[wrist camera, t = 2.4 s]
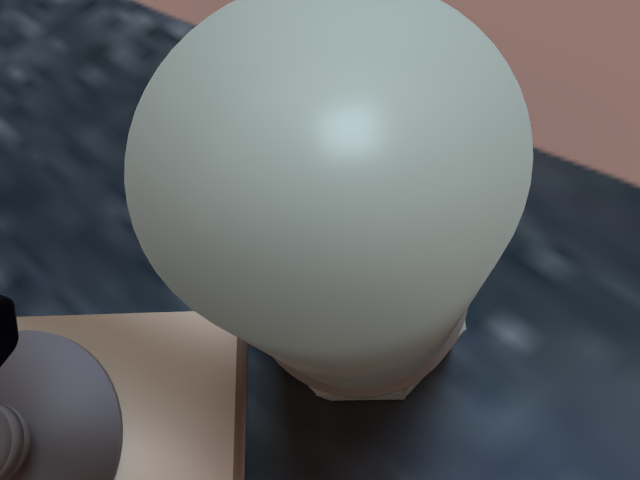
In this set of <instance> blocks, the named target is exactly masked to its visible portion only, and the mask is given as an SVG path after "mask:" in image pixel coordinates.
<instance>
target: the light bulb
mask: <svg viewBox="0 0 640 480" xmlns="http://www.w3.org/2000/svg"><path fill="white" fill-rule="evenodd" d="M532 165H533V143H532V130H531V125H530V120H529V115H528V110H527V106H526V103H525V100H524V98H523V95H522V92H521V89H520V87H519V84H518V82H517V80H516V78H515V77H514V75H513V73H512V71H511V69H510V67H509V65H508V64H507V62H506V60H505V59H504V58H503V56H502V55H501V53H500V52H499V51H498V49H497V48H496V47H495V45H494V44H493V43H492V42H491V41H490V40H489V38H487V36H486V35H485V34H484V33H483V32H482V31H481V30H480V29H479V28H478V27H477V26H476V25H475V24H473V23H472V22H471V21H470V20H468V19H467V18H466V17H465V16H463V15H462V14H461V13H460V12H458V11H457V10H455V9H454V8H452V7H451V6H449V5H447V4H446V3H444V2H442V1H441V0H235V1H233V2H231V3H229V4H227V5H226V6H224V7H223V8H221V9H219V10H218V11H216V12H215V13H213V14H212V15H210V16H209V17H207V18H206V19H205V20H204V21H202V22H201V23H200V24H199V25H197V26H196V27H195V28H194V29H192V30H191V31H190V32H189V33H188V34H187V35H186V36H185V37H184V38H183V39H182V40H181V41H180V42H179V43H178V44H177V45H176V46H175V47H174V48H173V49H172V50H171V51H170V53H169V54H168V55H167V57H166V58H165V59H164V60H163V62H162V63H161V64H160V66H159V67H158V68H157V70H156V71H155V73H154V75H153V77H152V78H151V80H150V82H149V83H148V85H147V87H146V88H145V90H144V92H143V95H142V97H141V99H140V101H139V104H138V106H137V108H136V110H135V114H134V117H133V120H132V124H131V127H130V131H129V134H128V141H127V147H126V153H125V174H124V182H125V190H126V199H127V206H128V210H129V213H130V217H131V221H132V225H133V228H134V231H135V233H136V235H137V238H138V240H139V243H140V245H141V247H142V250H143V252H144V253H145V255H146V256H147V258H148V260H149V261H150V263H151V265H152V266H153V268H154V270H155V271H156V273H157V274H158V275H159V276H160V278H161V279H162V280H163V281H164V282H165V284H166V285H167V286H168V287H169V288H170V290H171V291H172V292H173V293H174V294H175V295H176V296H178V297H179V298H180V299H181V300H182V301H183V302H184V303H185V304H186V305H187V306H189V307H190V308H191V309H192V310H193V311H195V312H196V313H198V314H199V315H201V316H202V317H204V318H205V319H207V320H208V321H210V322H211V323H213V324H214V325H216V326H218V327H220V328H222V329H223V330H225V331H227V332H229V333H231V334H232V335H234V336H236V337H238V338H240V339H241V340H243V341H245V342H247V343H249V344H250V345H252V346H254V347H256V348H258V349H260V350H261V351H263V352H265V353H267V354H269V355H270V356H272V357H273V358H274V359H275V361H276V362H277V363H278V364H279V365H280V366H281V367H282V368H284V369H285V370H286V371H287V372H288V373H289V374H290V375H292V376H293V377H295V378H296V379H298V380H299V381H301V382H303V383H305V384H307V385H308V386H309V387H310V388H311V389H312V390H313V391H314V392H315V393H316V396H319V397H322V398H324V399H327V400H330V401H338V400H405V398H406V396H407V395H408V394H409V393H410V392H411V391H412V390H413V389H414V388H415V386H416V385H417V384H418V383H419V382H420V381H421V380H422V379H423V378H424V377H425V376H426V375H427V374H429V373H430V372H431V371H432V370H433V369H434V368H435V367H436V366H437V365H438V364H439V363H440V362H441V361H442V359H443V358H444V357H445V356H446V354H447V353H448V352H449V351H450V349H451V348H452V347H453V346H454V345H455V343H456V342H457V341H458V339H459V338H460V337H461V336H462V334H463V333H464V332H465V331H466V328H467V327H466V326H465V318H466V314H467V310H468V306H469V305H470V303H471V302H472V300H473V299H474V297H475V296H476V294H477V292H478V291H479V289H480V288H481V286H482V285H483V283H484V282H485V280H486V279H487V277H488V276H489V274H490V272H491V271H492V269H493V268H494V266H495V265H496V263H497V262H498V260H499V259H500V257H501V255H502V253H503V252H504V250H505V248H506V247H507V245H508V243H509V242H510V240H511V238H512V237H513V235H514V233H515V230H516V228H517V225H518V223H519V221H520V218H521V216H522V213H523V211H524V208H525V204H526V200H527V196H528V192H529V188H530V184H531V175H532Z"/></svg>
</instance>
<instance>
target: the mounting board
mask: <svg viewBox="0 0 640 480" xmlns="http://www.w3.org/2000/svg"><path fill="white" fill-rule="evenodd" d="M16 318H17V325H18V332H19V340H18V343H17V346H16V348H15V350H14V351H13V353H12V354H11V355H10V356H9V358H8V359H7V360H6V361H5V363H4V364H3V365H2V366H1V367H0V480H245V440H246V399H247V359H248V343H247V342H245V341H243V340H241V339H240V338H238V337H236V336H234V335H232V334H231V333H229V332H227V331H225V330H223V329H222V328H220V327H218V326H216V325H214V324H213V323H211V322H210V321H208V320H207V319H205V318H204V317H202V316H201V315H199V314H198V313H196V312H195V311H191V312H159V313H128V314H96V315H64V316H33V317H16Z"/></svg>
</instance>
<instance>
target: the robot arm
mask: <svg viewBox="0 0 640 480" xmlns="http://www.w3.org/2000/svg"><path fill="white" fill-rule="evenodd" d="M18 340H19V332H18V325H17V318H16V310H15V305H14V302H13V301H12V300H11V299H10V298H8V297H6V296H3V295H0V367H1V366H2V365H3V364H4V363H5V361H6V360H7V359H8V358H9V356H10V355H11V354H12V353H13V351H14V350H15V348H16V346H17V343H18Z"/></svg>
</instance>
